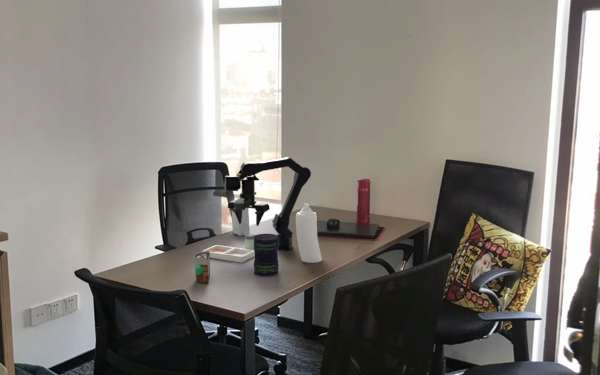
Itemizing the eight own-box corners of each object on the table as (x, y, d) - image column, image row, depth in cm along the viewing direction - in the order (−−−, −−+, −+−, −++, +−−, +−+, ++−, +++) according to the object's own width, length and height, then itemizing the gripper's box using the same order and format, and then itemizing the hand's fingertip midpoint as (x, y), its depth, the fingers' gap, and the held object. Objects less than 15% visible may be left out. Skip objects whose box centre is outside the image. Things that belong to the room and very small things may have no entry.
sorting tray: (255, 255, 269) (255, 250, 268) (242, 262, 259) (242, 256, 259) (216, 250, 278) (216, 244, 277) (202, 256, 268) (201, 250, 268)
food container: (194, 275, 243) (193, 250, 241) (210, 274, 243) (209, 250, 241) (191, 285, 230) (191, 259, 229) (208, 285, 231) (207, 259, 229)
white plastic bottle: (317, 265, 256) (317, 206, 251) (292, 263, 259) (293, 205, 254) (324, 257, 267) (325, 201, 262) (300, 255, 270) (301, 199, 265)
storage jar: (262, 267, 252) (262, 232, 250) (283, 271, 248) (283, 235, 245) (248, 274, 244) (248, 237, 241) (269, 278, 239) (269, 241, 236)
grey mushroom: (258, 249, 279) (258, 234, 277) (252, 252, 274) (252, 237, 273) (248, 248, 281) (248, 233, 279) (243, 251, 276) (242, 236, 275)
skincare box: (249, 234, 305) (249, 205, 303) (239, 236, 302) (238, 206, 300) (241, 231, 312) (241, 202, 310) (231, 232, 309) (230, 203, 306)
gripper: (220, 191, 270) (221, 226, 272) (256, 195, 261) (257, 231, 264) (234, 187, 279) (235, 221, 282) (269, 191, 271) (270, 225, 273)
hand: (248, 224), depth 275 cm, fingers open, 9 cm apart
